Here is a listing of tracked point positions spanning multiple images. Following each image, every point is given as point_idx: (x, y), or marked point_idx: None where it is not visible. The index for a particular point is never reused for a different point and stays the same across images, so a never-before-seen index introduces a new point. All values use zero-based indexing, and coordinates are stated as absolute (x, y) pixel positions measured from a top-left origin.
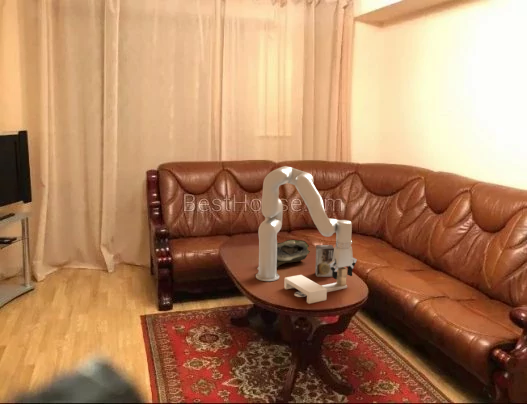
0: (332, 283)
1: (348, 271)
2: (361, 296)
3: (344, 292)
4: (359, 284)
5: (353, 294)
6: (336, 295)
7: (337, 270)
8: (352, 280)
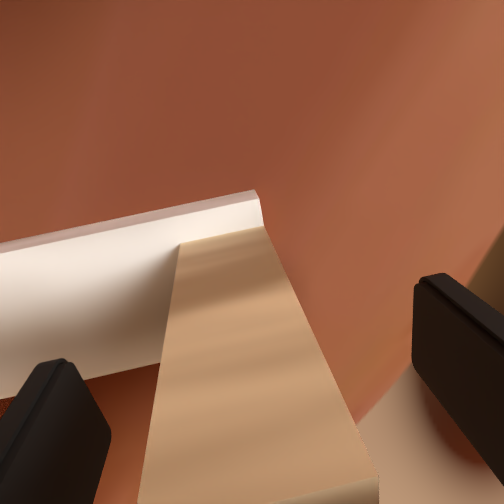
0: (115, 235)
1: (462, 356)
2: None
3: None
4: (465, 256)
5: None
6: None
7: (156, 426)
8: (497, 104)
